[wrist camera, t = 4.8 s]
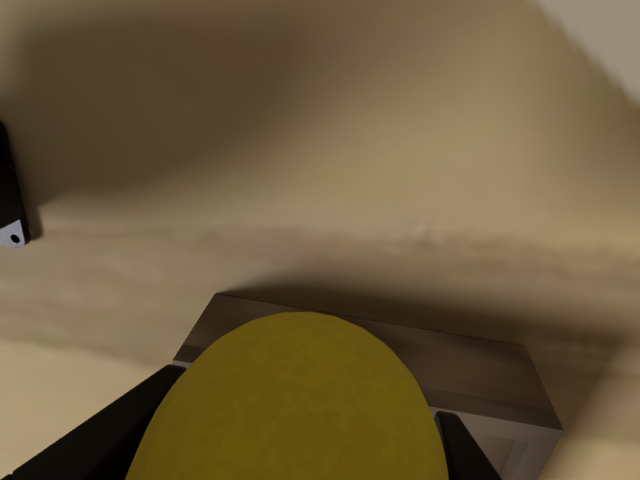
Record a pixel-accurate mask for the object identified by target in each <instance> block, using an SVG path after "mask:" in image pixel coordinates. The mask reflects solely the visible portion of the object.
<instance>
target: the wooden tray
mask: <svg viewBox="0 0 640 480" xmlns="http://www.w3.org/2000/svg"><path fill="white" fill-rule="evenodd" d="M283 312H315V313H320V314H325V315H330V316H335V317H338V318H340V319H343V320H345V321H347V322H350V323H352V324H355V325H357V326H359V327H362V328H363V329H365V330H366V331H368V332H369V333H371V334H372V335H373V336H375V337H376V338H378V339H379V340H381V341H382V342H383V343H385V344H386V345H387V346H388V347H389V348H390V349H391V350H392V351H393V352H394V353H395V355H396V356H397V357H398V358H399V359H400V360H401V362H402V363H403V364H404V365H405V366H406V367H407V368H408V370H409V371H410V373H411V374H412V375H413V377H414V378H415V380H416V381H417V383H418V385H419V387H420V389H421V391H422V394H423V396H424V398H425V400H426V402H427V405H428V407H429V409H430V411H431V414H432V416H433V418H434V417H435V414H436V413H437V411H445V412H451V413H455V414H457V415H458V416H459V418H460V419H461V421H462V422H463V423H464V425H465V426H466V428H467V429H468V431H469V432H470V434H471V435H472V436H473V438H474V439H475V441H476V442H477V444H478V445H479V446H480V448H481V449H482V451H483V452H484V454H485V455H486V457H487V458H488V459H489V461H490V462H491V464H492V465H493V467H494V468H495V469H496V471H497V472H498V474H499V475H500V477H501V478H502V479H503V480H537V478H538V477H539V475H540V473H541V471H542V469H543V467H544V466H545V464H546V462H547V460H548V458H549V457H550V455H551V453H552V451H553V449H554V447H555V446H556V444H557V442H558V440H559V438H560V437H561V435H562V433H563V431H564V430H563V428H562V426H561V424H560V422H559V419H558V417H557V415H556V413H555V411H554V408H553V406H552V404H551V402H550V400H549V398H548V395H547V393H546V391H545V389H544V387H543V385H542V382H541V380H540V378H539V376H538V374H537V372H536V369H535V367H534V365H533V363H532V361H531V359H530V356H529V354H528V352H527V350H526V348H525V346H520V345H514V344H508V343H502V342H496V341H490V340H484V339H479V338H473V337H467V336H461V335H455V334H449V333H443V332H437V331H431V330H425V329H419V328H414V327H408V326H402V325H396V324H390V323H384V322H378V321H372V320H366V319H360V318H355V317H349V316H343V315H337V314H331V313H325V312H319V311H313V310H307V309H301V308H295V307H290V306H284V305H278V304H272V303H266V302H260V301H254V300H248V299H242V298H236V297H231V296H225V295H219V294H214V296H213V297H212V299H211V301H210V302H209V304H208V305H207V307H206V308H205V310H204V312H203V313H202V315H201V316H200V318H199V319H198V321H197V323H196V324H195V326H194V327H193V329H192V330H191V332H190V334H189V335H188V337H187V338H186V340H185V342H184V343H183V345H182V346H181V348H180V349H179V351H178V353H177V354H176V356H175V357H174V359H173V365H179V366H184V367H186V369H188V368H189V367H190V365H191V364H192V363H193V362H194V361H195V360H196V359H197V358H198V357H199V356H200V355H201V354H202V353H203V352H204V351H205V350H206V349H207V348H208V347H209V346H211V345H212V344H213V343H214V342H215V341H216V340H218V339H219V338H221V337H223V336H224V335H226V334H227V333H229V332H231V331H233V330H235V329H237V328H238V327H240V326H242V325H244V324H246V323H248V322H250V321H252V320H255V319H258V318H262V317H266V316H270V315H274V314H278V313H283Z"/></svg>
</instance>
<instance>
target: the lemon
mask: <svg viewBox="0 0 640 480" xmlns="http://www.w3.org/2000/svg"><path fill="white" fill-rule="evenodd" d="M125 480H449V477H448V469H447V464H446V458H445V453H444V449H443V445H442V442H441V438H440V434H439V431H438V429H437V426H436V423H435V421H434V418H433V416H432V414H431V411H430V409H429V407H428V405H427V402H426V400H425V398H424V396H423V394H422V391H421V389H420V387H419V385H418V383H417V381H416V380H415V378H414V377H413V375H412V374H411V373H410V371H409V370H408V368H407V367H406V366H405V365H404V364H403V363H402V362H401V360H400V359H399V358H398V357H397V356H396V355H395V353H394V352H393V351H392V350H391V349H390V348H389V347H388V346H387V345H386V344H385V343H383V342H382V341H381V340H379V339H378V338H376V337H375V336H373V335H372V334H371V333H369V332H368V331H366V330H365V329H363V328H362V327H359V326H357V325H355V324H352V323H350V322H347V321H345V320H343V319H340V318H338V317H335V316H330V315H325V314H320V313H315V312H283V313H278V314H274V315H270V316H266V317H262V318H258V319H255V320H252V321H250V322H248V323H246V324H244V325H242V326H240V327H238V328H237V329H235V330H233V331H231V332H229V333H227V334H226V335H224V336H223V337H221V338H219V339H218V340H216V341H215V342H214V343H213V344H212V345H211V346H209V347H208V348H207V349H206V350H205V351H204V352H203V353H202V354H201V355H200V356H199V357H198V358H197V359H196V360H195V361H194V362H193V363H192V364H191V365H190V367H189V368H188V369H187V370H186V371H185V372H184V373H183V374H182V375H181V376H180V377H179V379H178V380H177V381H176V382H175V384H174V385H173V386H172V387H171V389H170V390H169V391H168V393H167V394H166V396H165V397H164V399H163V400H162V402H161V404H160V405H159V407H158V408H157V410H156V412H155V413H154V415H153V417H152V419H151V421H150V423H149V425H148V427H147V429H146V431H145V433H144V436H143V438H142V440H141V443H140V445H139V447H138V449H137V452H136V454H135V456H134V459H133V461H132V463H131V466H130V468H129V470H128V473H127V475H126V478H125Z"/></svg>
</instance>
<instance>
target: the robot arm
mask: <svg viewBox="0 0 640 480" xmlns="http://www.w3.org/2000/svg"><path fill="white" fill-rule="evenodd" d="M17 236H18V237H19V238H20V239H19V238H18V237H17ZM29 242H30V233H29V229H28V224H27V220H26V216H25V211H24V207H23V202H22V198H21V194H20V189H19V185H18V181H17V176H16V172H15V167H14V163H13V159H12V154H11V150H10V145H9V141H8V137H7V132H6V129H5V126H4V125H3V124H2V122H1V121H0V245H5V246H11V247H17V248H18V247H23V246H24V245H26V244H28V243H29ZM186 370H187V369H186V367H184V366H179V365H173V364H169V365H166V366H165V367H163V368H162V369H160V370H159V371H157V372H156V373H154V374H153V375H152V376H150V377H149V378H147V379H146V380H144V381H143V382H141V383H140V384H139V385H137V386H136V387H134V388H133V389H131V390H130V391H128V392H127V393H125V394H124V395H123V396H121V397H120V398H118V399H117V400H115V401H114V402H112V403H111V404H110V405H108V406H107V407H105V408H104V409H102V410H101V411H99V412H98V413H97V414H95V415H94V416H92V417H91V418H89V419H88V420H86V421H85V422H84V423H82V424H81V425H79V426H78V427H76V428H75V429H73V430H72V431H70V432H69V433H68V434H66V435H65V436H63V437H62V438H60V439H59V440H57V441H56V442H55V443H53V444H52V445H50V446H49V447H47V448H46V449H44V450H43V451H42V452H40V453H39V454H37V455H36V456H34V457H33V458H31V459H30V460H29V461H27V462H26V463H24V464H23V465H21V466H20V467H18V468H17V469H15V470H14V471H13V473H12V474H8V475H7V476H5V477H4V478H2V479H1V480H125V478H126V475H127V473H128V470H129V468H130V466H131V463H132V461H133V459H134V456H135V454H136V452H137V449H138V447H139V445H140V443H141V440H142V438H143V436H144V433H145V431H146V429H147V427H148V425H149V423H150V421H151V419H152V417H153V415H154V413H155V412H156V410H157V408H158V407H159V405H160V404H161V402H162V400H163V399H164V397H165V396H166V394H167V393H168V391H169V390H170V389H171V387H172V386H173V385H174V384H175V382H176V381H177V380H178V379H179V377H180V376H181V375H182V374H183V373H184V372H185V371H186ZM434 421H435V423H436V426H437V429H438V431H439V434H440V438H441V442H442V445H443V449H444V453H445V458H446V464H447V469H448V477H449V480H503V479H502V478H501V477H500V475H499V474H498V472H497V471H496V469H495V468H494V467H493V465H492V464H491V462H490V461H489V459H488V458H487V457H486V455H485V454H484V452H483V451H482V449H481V448H480V446H479V445H478V444H477V442H476V441H475V439H474V438H473V436H472V435H471V434H470V432H469V431H468V429H467V428H466V426H465V425H464V423H463V422H462V421H461V419H460V418H459V416H458V415H457V414H455V413H451V412H445V411H437V413H436V414H435V417H434Z"/></svg>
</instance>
